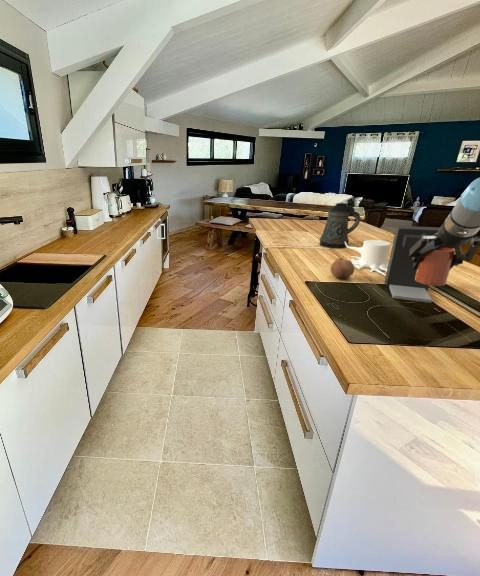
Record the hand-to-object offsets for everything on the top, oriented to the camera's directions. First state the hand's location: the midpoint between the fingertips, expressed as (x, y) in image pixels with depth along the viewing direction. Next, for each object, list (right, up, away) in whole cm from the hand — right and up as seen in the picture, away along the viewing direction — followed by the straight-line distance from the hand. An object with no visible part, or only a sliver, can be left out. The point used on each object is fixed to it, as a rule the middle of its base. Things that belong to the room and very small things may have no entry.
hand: (430, 266), depth 102 cm
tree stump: (+12, +5, +54) cm, 55 cm away
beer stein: (+11, +19, +91) cm, 93 cm away
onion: (-11, -3, +37) cm, 39 cm away
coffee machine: (+7, -8, +21) cm, 24 cm away
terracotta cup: (-1, -5, -1) cm, 5 cm away
